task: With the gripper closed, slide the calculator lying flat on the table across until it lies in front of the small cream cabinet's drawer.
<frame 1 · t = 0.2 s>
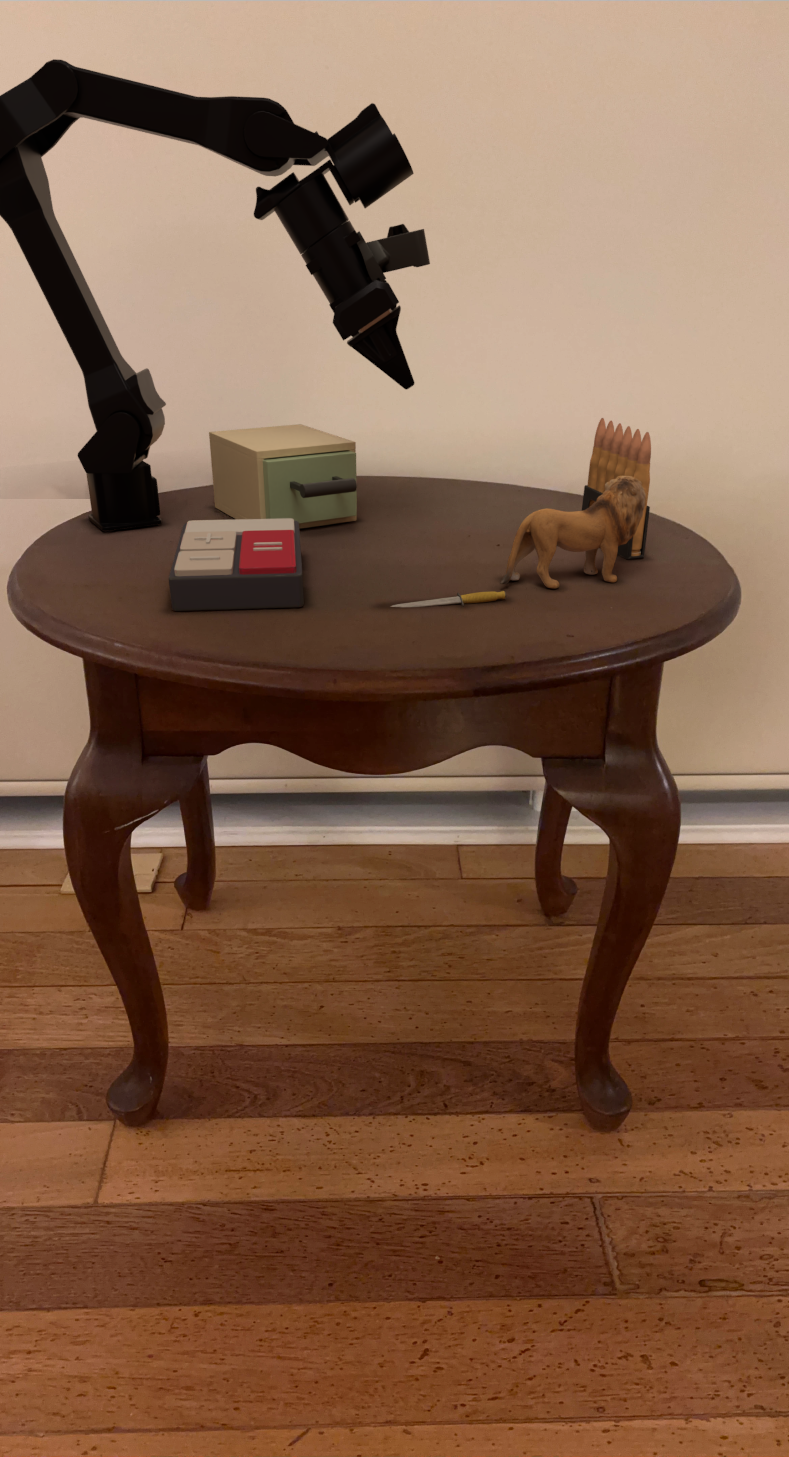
hand: (408, 381, 97), 15 cm above the table, tool tilted 30°, fingers open, 9 cm apart
drawer: (296, 482, 102), point 4 cm above the table, slide at 0.0 cm
calculator: (241, 584, 84), on the table
cabinet: (284, 513, 107), on the table
lion figurine: (571, 580, 86), on the table
ammunition clip: (609, 546, 96), on the table
dagger: (445, 606, 80), on the table
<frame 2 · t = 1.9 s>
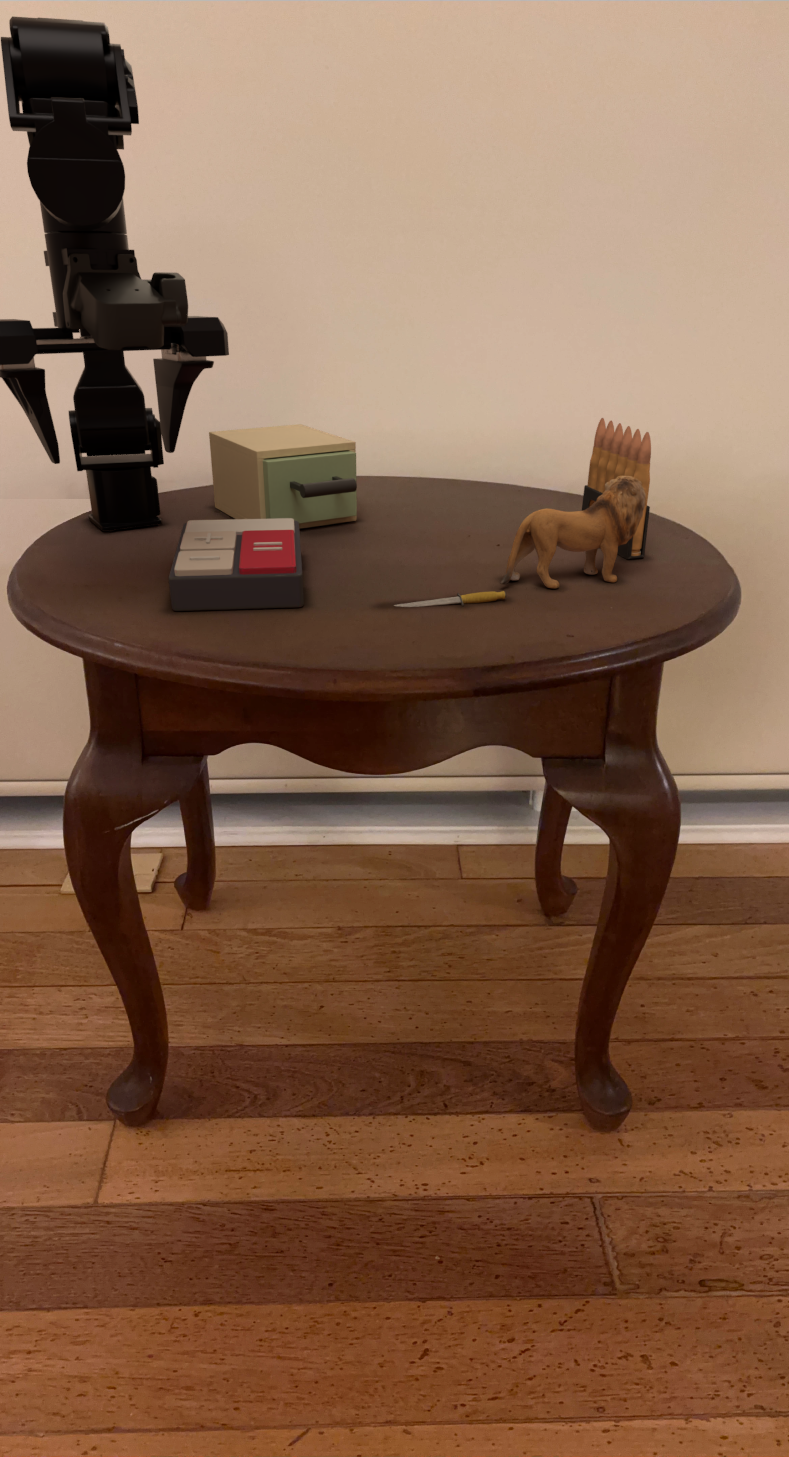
hand: (114, 457, 73), 12 cm above the table, tool pointing down, fingers open, 9 cm apart
nothing on the table moved.
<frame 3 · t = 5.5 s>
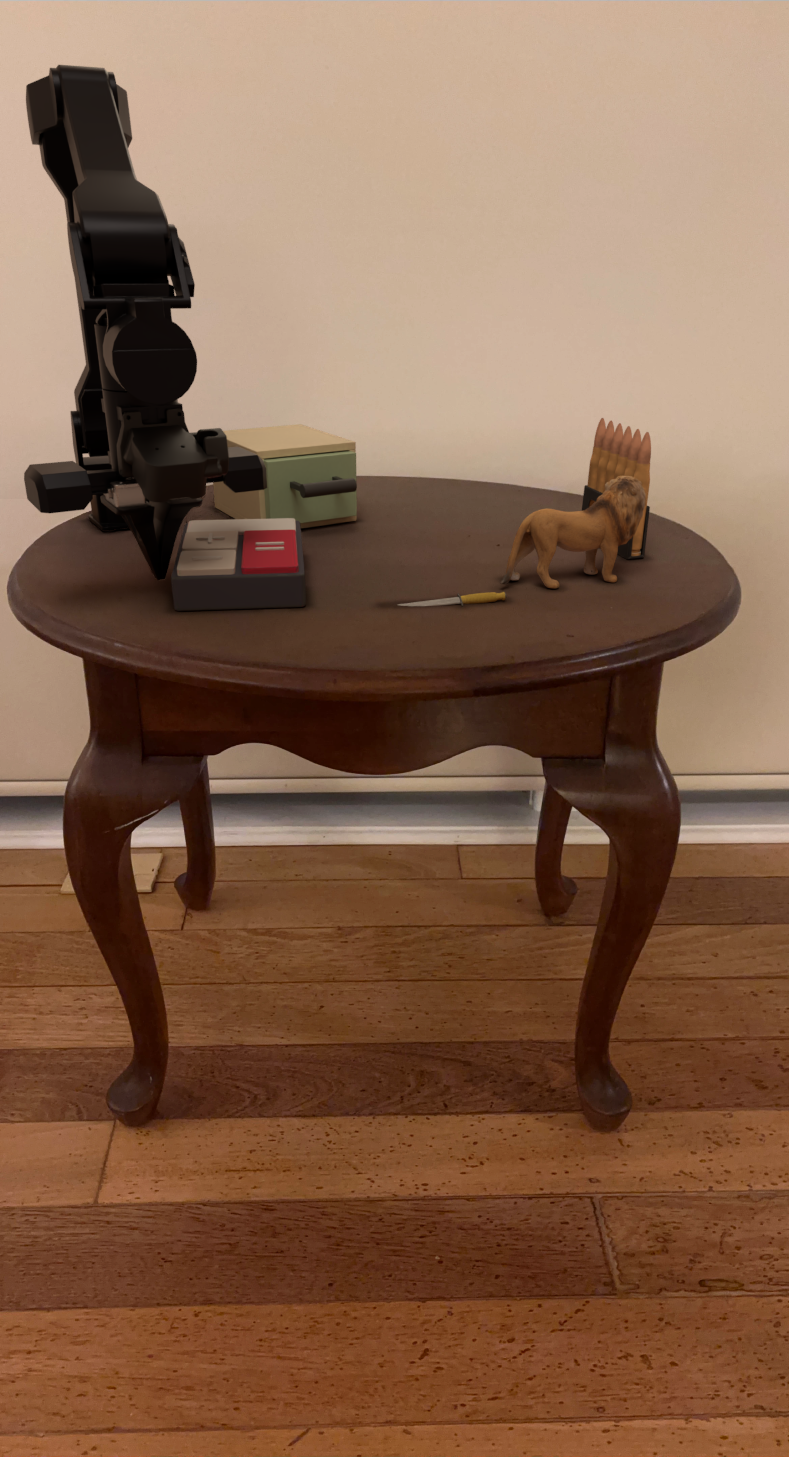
hand: (160, 578, 80), 2 cm above the table, tool pointing down, fingers closed
calculator: (243, 584, 84), on the table, touching gripper
everything else where it was.
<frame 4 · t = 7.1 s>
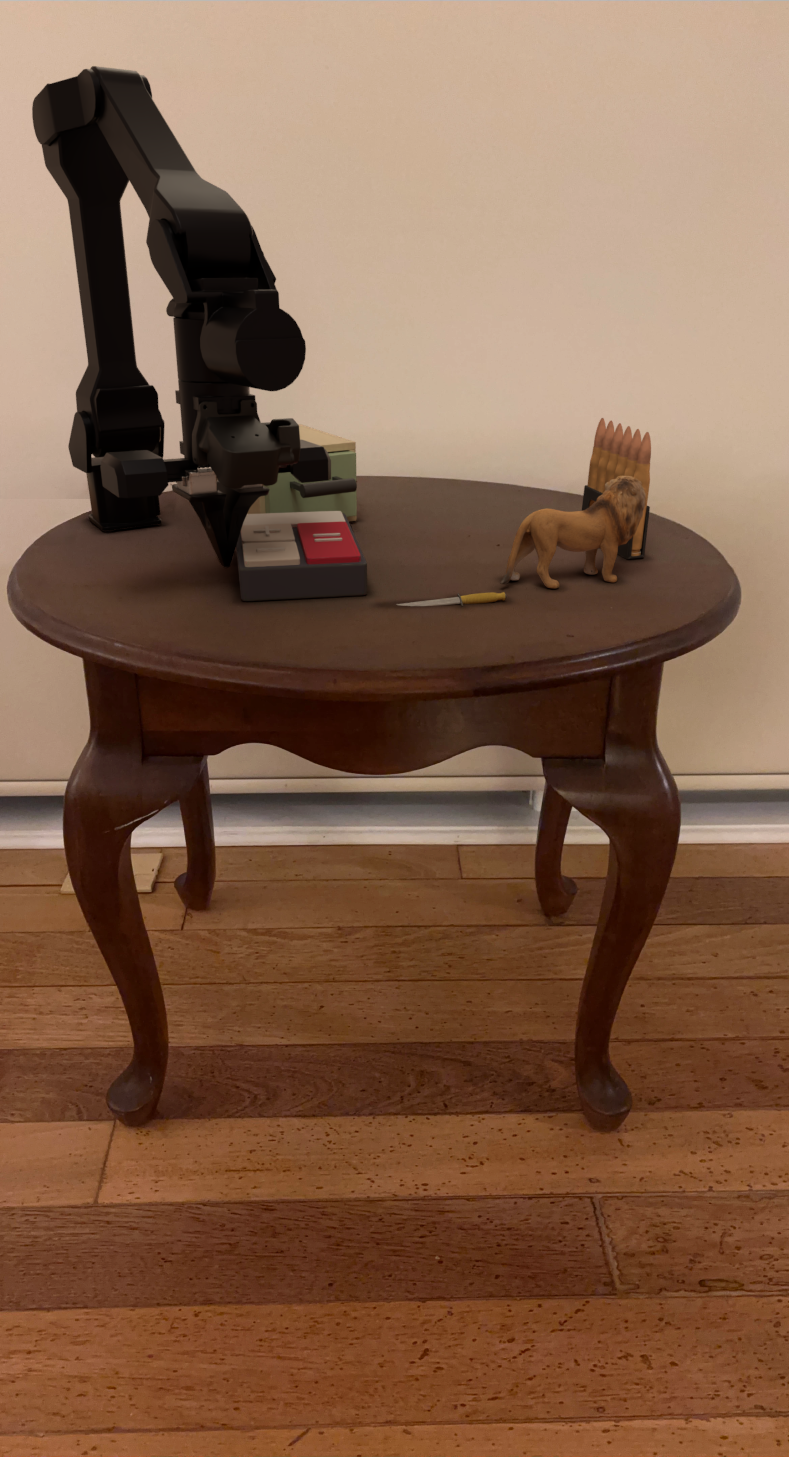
hand: (225, 566, 82), 2 cm above the table, tool pointing down, fingers closed
calculator: (298, 575, 87), on the table, touching gripper
everything else where it was.
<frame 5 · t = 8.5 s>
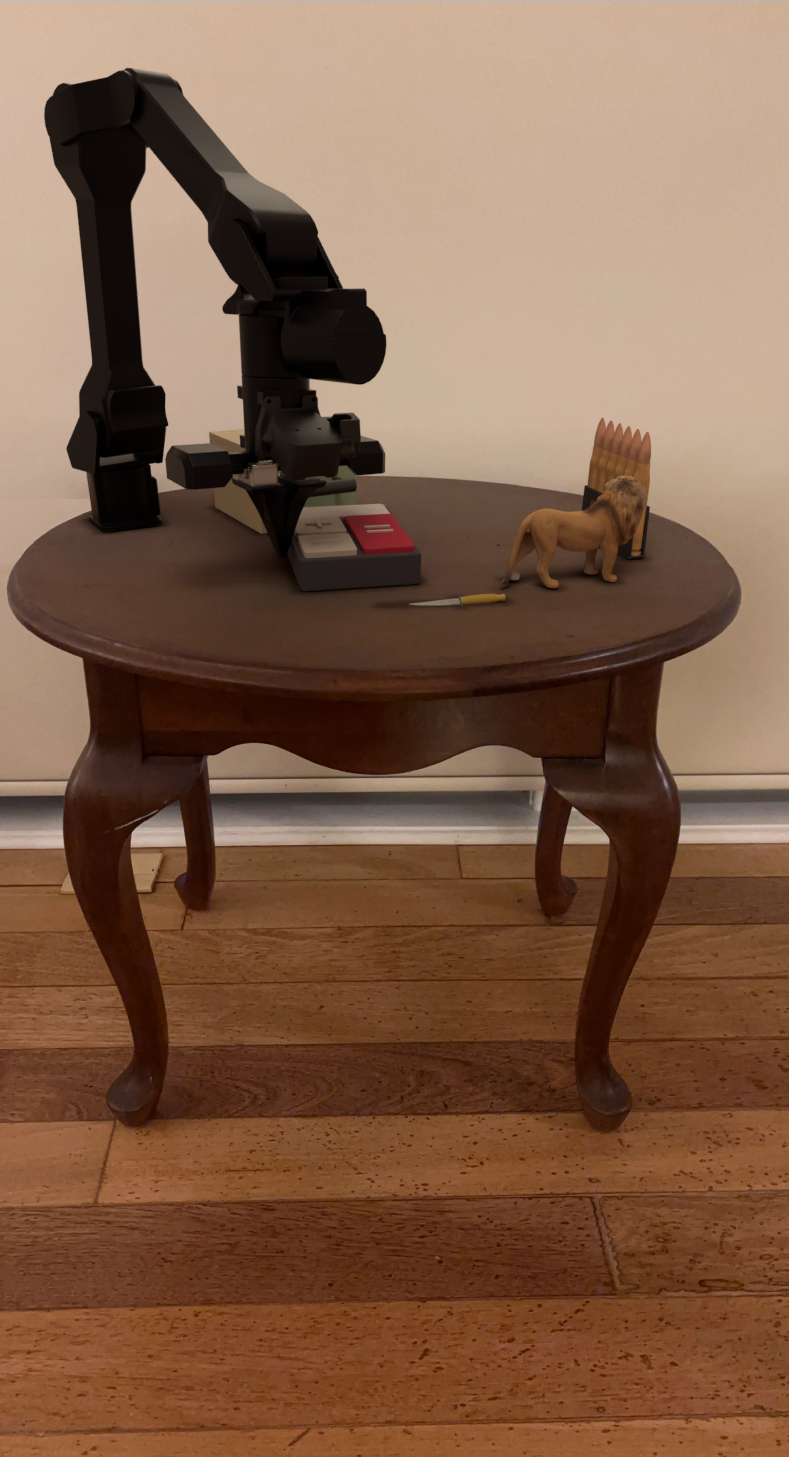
hand: (281, 556, 85), 2 cm above the table, tool pointing down, fingers closed
calculator: (347, 566, 89), on the table, touching gripper
everything else where it was.
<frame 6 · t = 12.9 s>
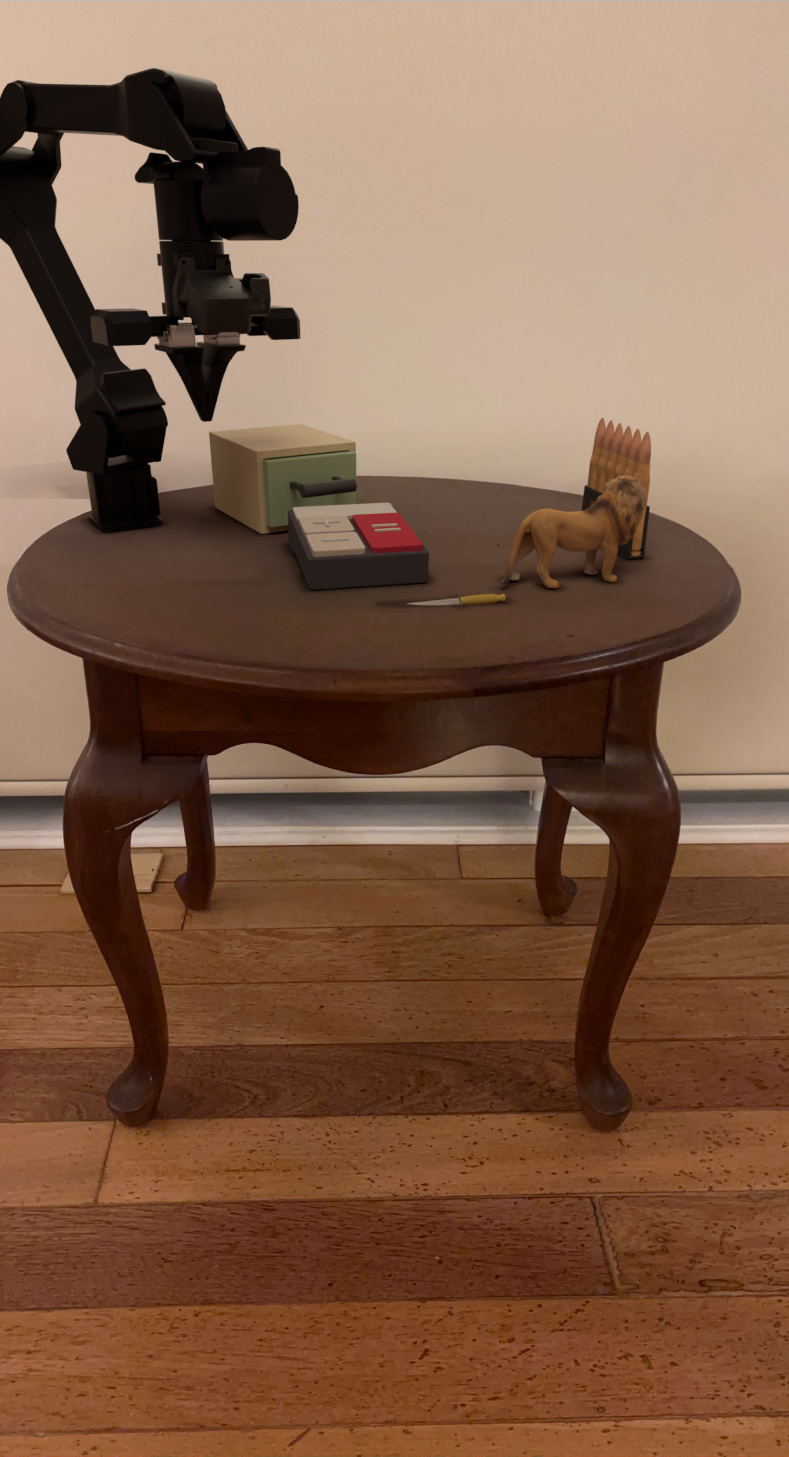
hand: (206, 420, 91), 12 cm above the table, tool pointing down, fingers closed
calculator: (354, 564, 90), on the table
everything else where it was.
at the end: calculator inside the target area in the drawer (2.2 cm from its centre), point 0.0 cm above the cabinet's base; calculator tilted 0°; calculator moved 11.8 cm from its start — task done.
